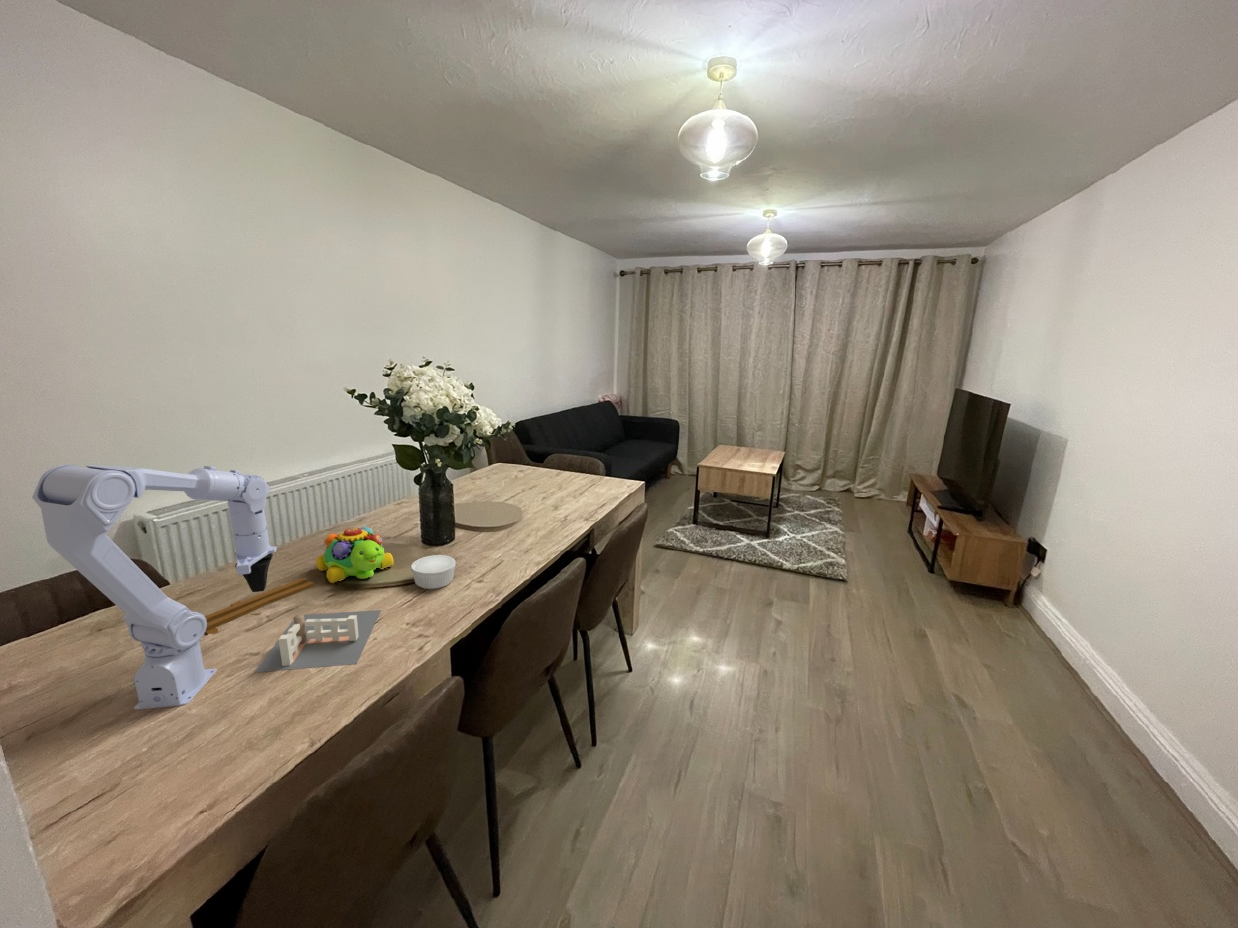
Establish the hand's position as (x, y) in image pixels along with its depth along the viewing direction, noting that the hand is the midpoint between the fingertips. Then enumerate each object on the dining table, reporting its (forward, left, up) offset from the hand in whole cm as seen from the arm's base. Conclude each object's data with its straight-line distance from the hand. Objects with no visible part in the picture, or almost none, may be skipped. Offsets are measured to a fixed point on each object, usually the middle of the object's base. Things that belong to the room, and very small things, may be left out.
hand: (258, 590), depth 104 cm
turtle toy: (+28, -12, -11) cm, 32 cm away
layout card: (-4, -13, -10) cm, 17 cm away
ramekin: (+20, -32, -11) cm, 39 cm away
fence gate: (-5, -15, -10) cm, 19 cm away
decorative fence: (+12, +7, -11) cm, 18 cm away
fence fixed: (-8, -9, -10) cm, 16 cm away
